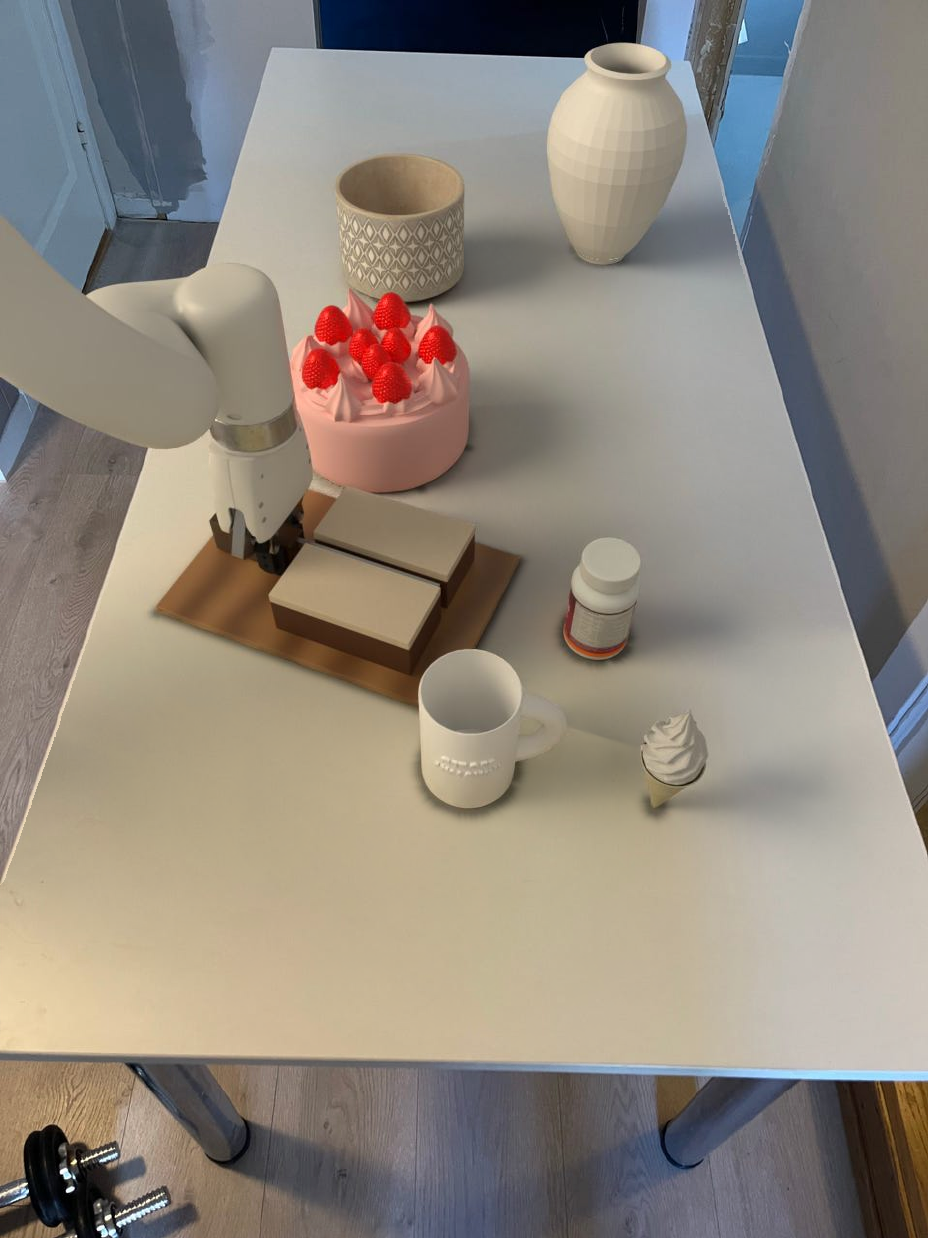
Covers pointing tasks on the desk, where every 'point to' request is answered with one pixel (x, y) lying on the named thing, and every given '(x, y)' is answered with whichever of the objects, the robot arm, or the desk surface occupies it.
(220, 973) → the desk surface
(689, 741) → the ice cream cone
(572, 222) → the vase
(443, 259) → the planter
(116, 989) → the desk surface
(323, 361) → the cake
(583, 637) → the pill bottle
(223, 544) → the knife
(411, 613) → the cake
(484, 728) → the mug
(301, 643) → the cake board
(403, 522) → the cake
